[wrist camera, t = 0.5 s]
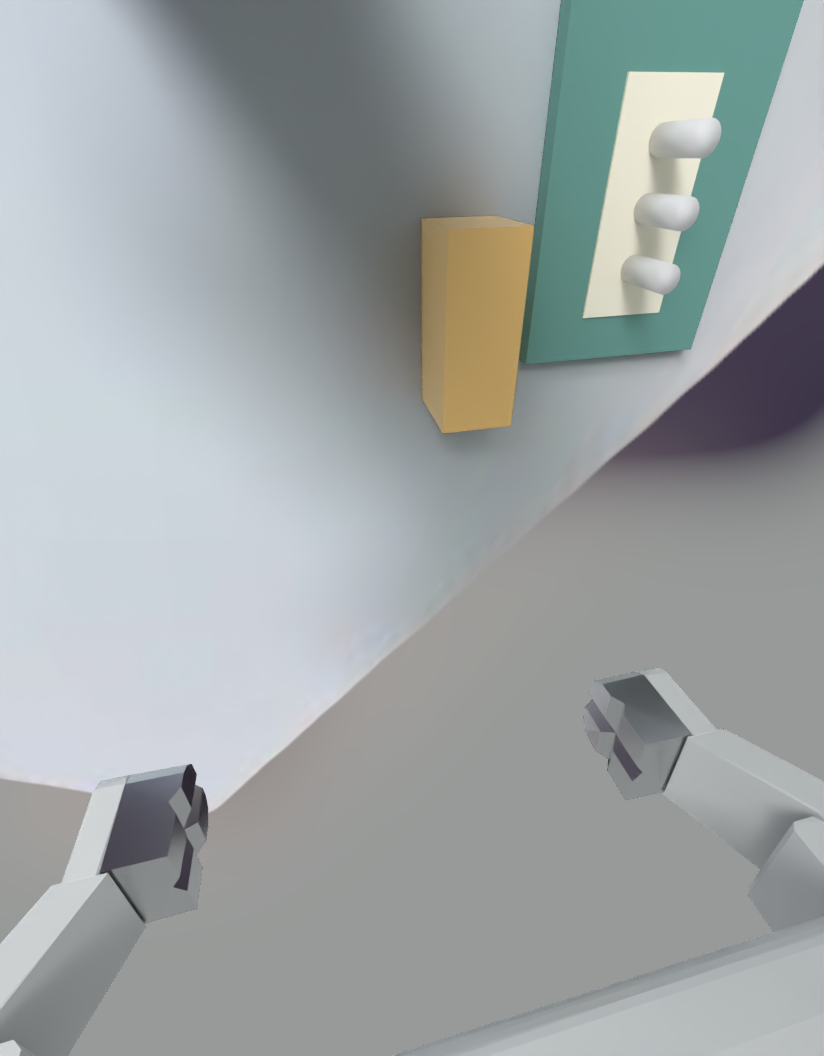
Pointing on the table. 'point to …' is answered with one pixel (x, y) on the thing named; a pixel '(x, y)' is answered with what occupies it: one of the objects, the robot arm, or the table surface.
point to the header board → (644, 167)
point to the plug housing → (472, 318)
